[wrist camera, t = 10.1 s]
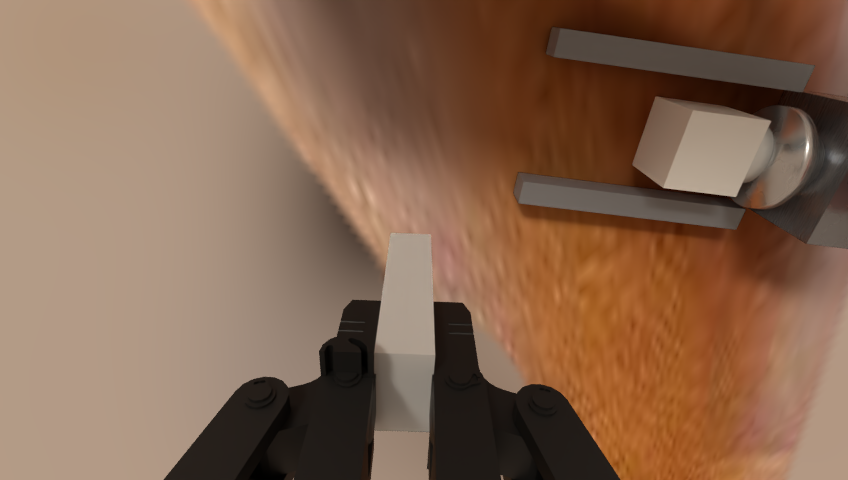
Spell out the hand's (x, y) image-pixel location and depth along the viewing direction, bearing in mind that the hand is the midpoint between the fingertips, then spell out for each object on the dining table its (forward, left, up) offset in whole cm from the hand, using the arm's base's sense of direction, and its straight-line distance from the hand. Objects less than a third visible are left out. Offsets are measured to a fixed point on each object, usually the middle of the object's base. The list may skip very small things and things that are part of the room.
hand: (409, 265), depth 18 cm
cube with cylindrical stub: (-2, +23, -25) cm, 33 cm away
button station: (-2, +32, -24) cm, 40 cm away
